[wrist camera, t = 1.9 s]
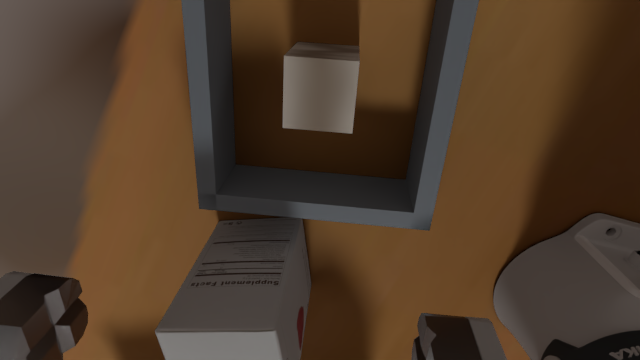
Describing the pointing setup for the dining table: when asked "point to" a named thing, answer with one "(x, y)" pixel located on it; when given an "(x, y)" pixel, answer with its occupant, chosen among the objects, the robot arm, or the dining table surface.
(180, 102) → the dining table surface
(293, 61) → the cream block
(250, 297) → the supplement box
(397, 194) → the open u-shaped frame
